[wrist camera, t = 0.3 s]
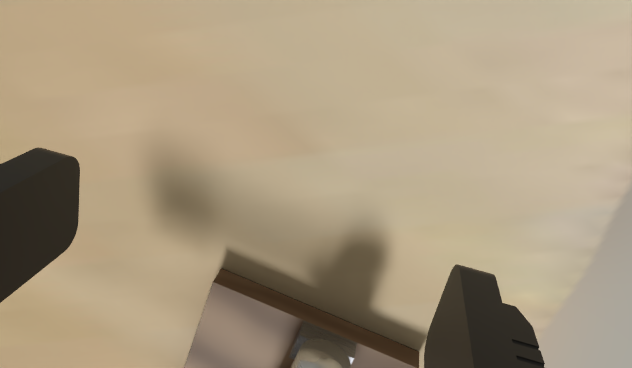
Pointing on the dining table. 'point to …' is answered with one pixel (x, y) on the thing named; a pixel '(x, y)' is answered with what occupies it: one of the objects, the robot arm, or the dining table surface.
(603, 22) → the dining table surface
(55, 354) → the dining table surface
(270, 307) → the mounting board
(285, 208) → the dining table surface
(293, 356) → the valve
